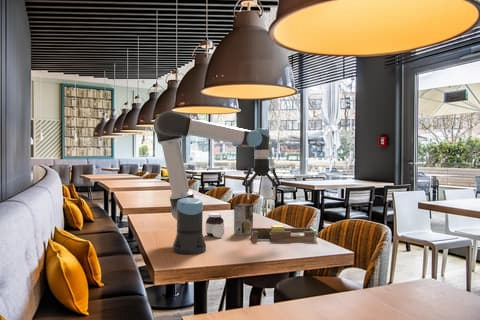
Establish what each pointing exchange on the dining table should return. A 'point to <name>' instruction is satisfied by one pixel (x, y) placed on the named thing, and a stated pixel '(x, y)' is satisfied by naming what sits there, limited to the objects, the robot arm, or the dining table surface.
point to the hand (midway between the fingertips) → (261, 199)
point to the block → (277, 228)
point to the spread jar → (215, 225)
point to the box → (284, 235)
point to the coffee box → (243, 219)
